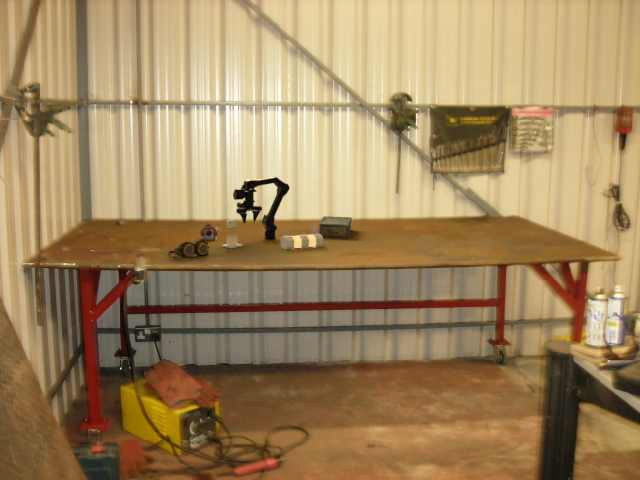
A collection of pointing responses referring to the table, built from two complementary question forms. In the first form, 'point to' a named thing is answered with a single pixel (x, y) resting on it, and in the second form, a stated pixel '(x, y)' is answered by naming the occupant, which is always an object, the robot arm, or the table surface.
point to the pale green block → (231, 223)
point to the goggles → (191, 249)
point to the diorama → (302, 240)
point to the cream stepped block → (232, 242)
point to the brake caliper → (208, 232)
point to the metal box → (335, 227)
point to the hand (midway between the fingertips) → (249, 222)
